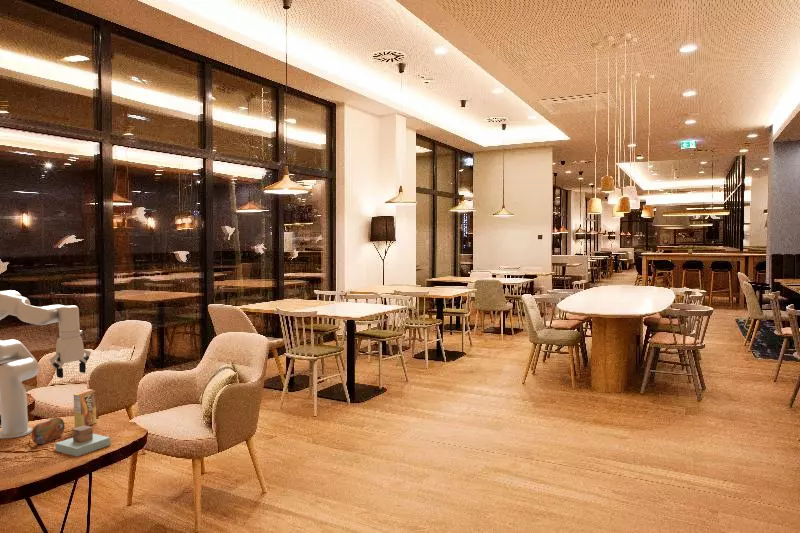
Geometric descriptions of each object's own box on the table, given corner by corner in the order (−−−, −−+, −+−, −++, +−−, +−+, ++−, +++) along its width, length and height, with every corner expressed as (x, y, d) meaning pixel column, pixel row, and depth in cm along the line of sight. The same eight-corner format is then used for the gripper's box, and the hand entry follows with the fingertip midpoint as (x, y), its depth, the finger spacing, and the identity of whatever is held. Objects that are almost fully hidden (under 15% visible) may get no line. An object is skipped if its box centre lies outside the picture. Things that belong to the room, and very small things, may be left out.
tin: (37, 447, 235) (36, 426, 234) (30, 446, 235) (29, 426, 235) (65, 434, 249) (64, 415, 249) (59, 434, 250) (58, 414, 250)
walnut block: (73, 441, 232) (72, 429, 231) (84, 437, 236) (84, 425, 236) (81, 443, 229) (80, 430, 229) (92, 439, 234) (92, 427, 233)
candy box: (89, 422, 266) (87, 389, 265) (97, 422, 265) (95, 389, 264) (74, 428, 257) (72, 394, 256) (82, 429, 256) (80, 394, 255)
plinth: (55, 450, 230) (55, 443, 230) (89, 439, 242) (88, 432, 242) (77, 456, 223) (76, 448, 223) (110, 444, 236) (110, 437, 235)
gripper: (83, 331, 254) (85, 369, 255) (43, 337, 239) (45, 378, 240) (94, 332, 251) (96, 371, 252) (54, 338, 235) (56, 380, 236)
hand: (71, 374), depth 246 cm, fingers open, 9 cm apart
